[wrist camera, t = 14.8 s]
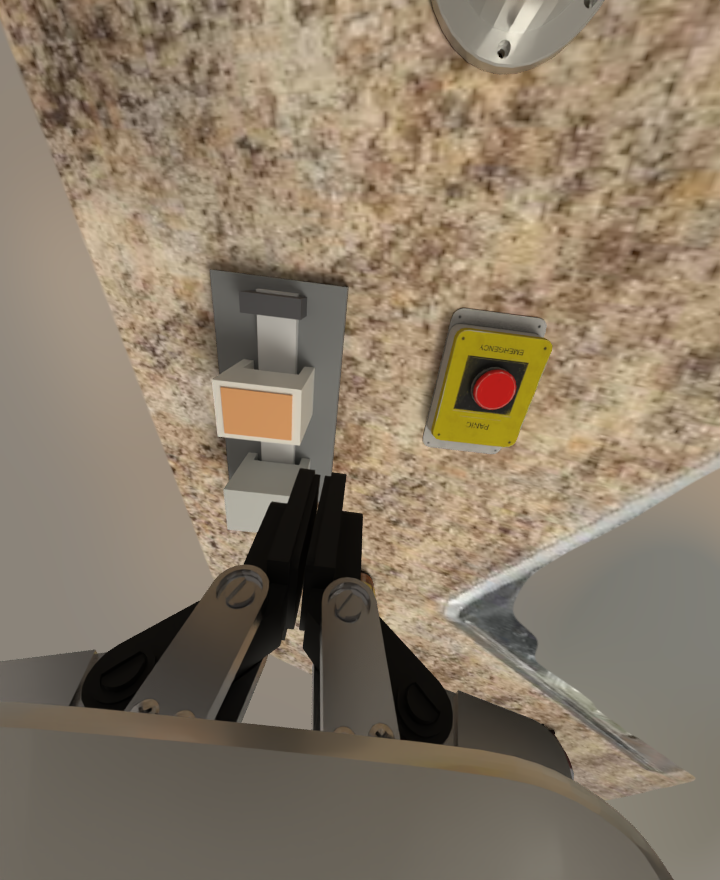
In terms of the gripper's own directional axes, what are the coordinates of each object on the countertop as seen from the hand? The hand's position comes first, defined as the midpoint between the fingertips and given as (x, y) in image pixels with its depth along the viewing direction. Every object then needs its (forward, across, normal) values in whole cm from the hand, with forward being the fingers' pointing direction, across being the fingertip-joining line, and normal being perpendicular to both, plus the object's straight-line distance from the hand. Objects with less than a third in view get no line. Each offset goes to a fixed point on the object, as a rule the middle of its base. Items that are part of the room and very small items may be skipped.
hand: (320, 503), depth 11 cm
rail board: (+23, +7, +6) cm, 25 cm away
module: (+21, +7, +4) cm, 23 cm away
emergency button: (+24, -14, +2) cm, 28 cm away
